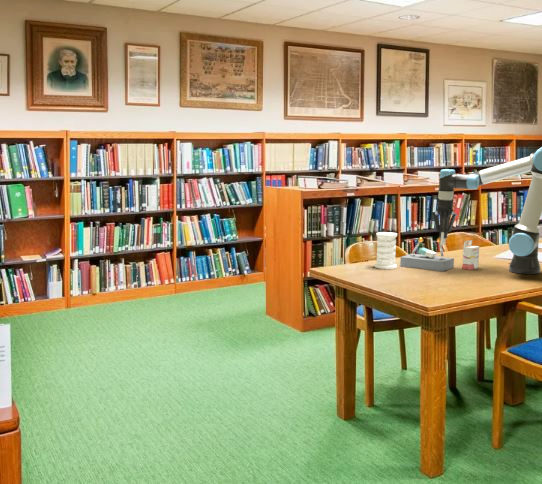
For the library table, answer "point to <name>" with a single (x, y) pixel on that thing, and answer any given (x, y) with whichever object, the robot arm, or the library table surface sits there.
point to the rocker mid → (427, 252)
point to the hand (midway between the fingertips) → (442, 244)
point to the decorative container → (386, 250)
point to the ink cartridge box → (470, 256)
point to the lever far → (417, 244)
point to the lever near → (440, 246)
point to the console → (427, 262)
